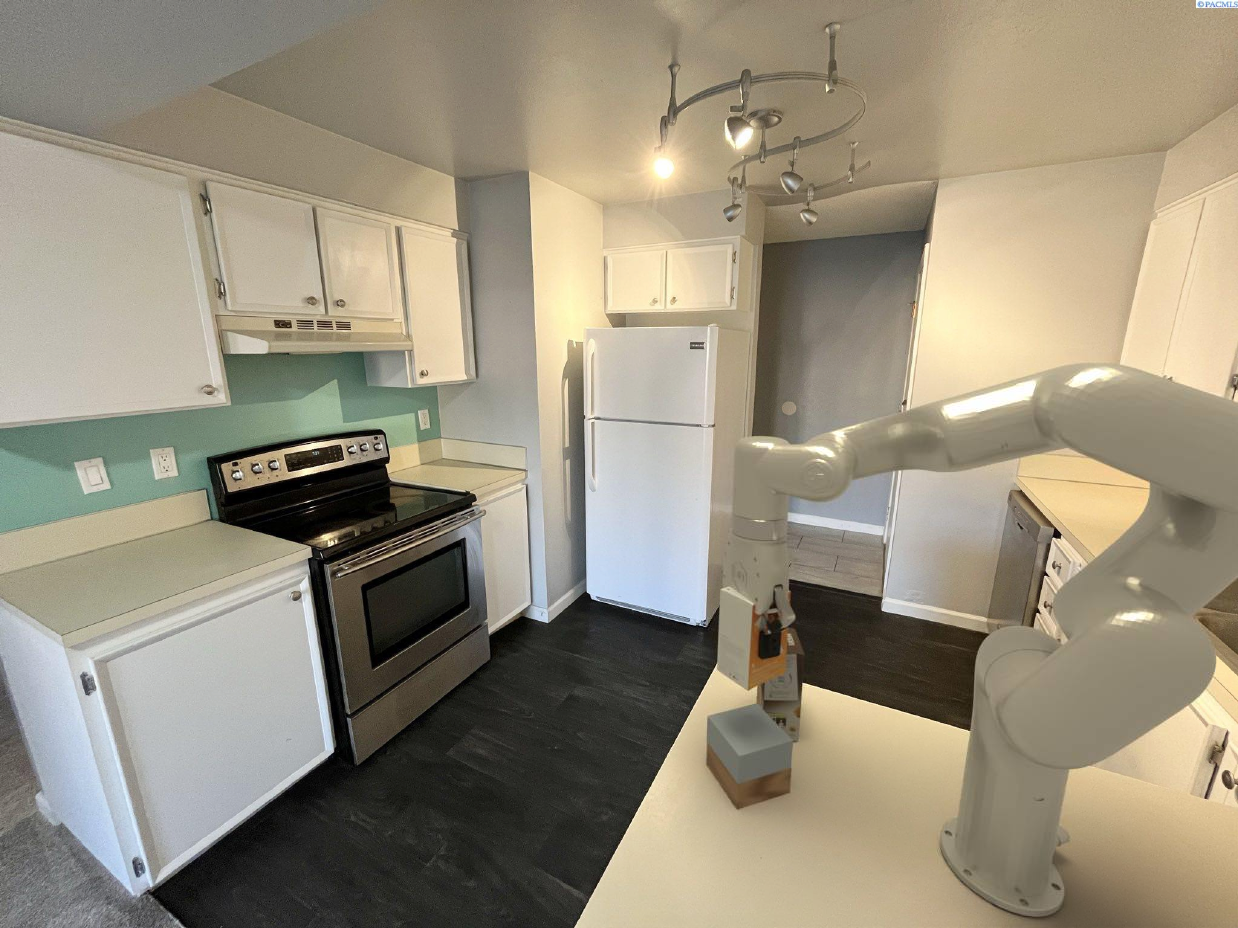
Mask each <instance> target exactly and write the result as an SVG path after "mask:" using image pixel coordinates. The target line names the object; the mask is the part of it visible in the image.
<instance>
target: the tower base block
mask: <svg viewBox="0 0 1238 928" xmlns="http://www.w3.org/2000/svg"><path fill="white" fill-rule="evenodd" d="M705 764H706V767H707V768H708V769H709V771H710V772H711V774H712V775H713V777H714V778H715V780H716V781H717V784H719V785H720V787H721V788H722V790H723V791H724V793H725V795H726V796H727V797H728V799H729V800H730V803H732V805H733V806H734V808H735V810H737V811H738V810H741V809H744V808H748V807H751V806H753V805H756V804H759V803H762V802H766V801H769V800H772V799H775V798H778V797H782V796H784V795H787V794H790V792H791V781H792V780H791V779H792V767H791V768H788V769H785V770H782V771H779V772H775V773H772V774H769V775H766V776H762V777H759V778H756V779H753V780H750V781H746V782H743V783H740V784H738V783H737V782H736V781H735V779H734V778H733V777H732V775H731V774H730V772H729V771H728V770H727V768H726V767H725V766H724V764H723V763H722V762H721V760H720V759H719V757H718V756H717V755H716V753H715V752H714V751H713V749H712V748H711V747H710V745H709V744H708V742H707V741H706V763H705Z"/></svg>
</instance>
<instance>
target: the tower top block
mask: <svg viewBox="0 0 1238 928" xmlns="http://www.w3.org/2000/svg"><path fill="white" fill-rule="evenodd" d="M706 723H707V724H706V743H707V742H708V744H709V745H710V747H711V748H712V749H713V751H714V752H715V753H716V755H717V756H718V757H719V759H720V760H721V762H722V763H723V764H724V766H725V767H726V768H727V770H728V771H729V772H730V774H731V775H732V777H733V778H734V779H735V781H736V782H737V783H738V784H740V783H743V782H746V781H750V780H753V779H756V778H759V777H762V776H766V775H769V774H772V773H775V772H779V771H782V770H785V769H788V768H791V769H792V762H793V761H792V758H793V757H792V756H793V746H794V745H793V744H794V743H793V742H794V741H793V740H792V739H791V738H790V737H789V736H788V735H787V734H786V733H785V732H784V731H783V730H782V729H781V728H780V727H779V726H778V725H777V724H776V723H775V722H774V721H773V719H772V718H771V717H770V716H769V715H768V714H767V713H766V712H765V711H764V710H763V709H762V708H761V707H760V706H759V705H758V704H757V702H756V703H752V704H747V705H745V706H741V707H736V708H733V709H729V710H724V711H721V712H717V713H716V712H715V713H713V714H709V715H707V720H706Z"/></svg>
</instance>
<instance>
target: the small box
mask: <svg viewBox="0 0 1238 928" xmlns="http://www.w3.org/2000/svg"><path fill="white" fill-rule="evenodd" d="M719 591H720V592H719V611H718V612H719V615H718V638H717V639H718V640H717V657H716V658H717V663H716V664H717V665H716V670H717V671H718V672H719V673H720V674H722V675H723V676H725V677H726V678H728V679H729V680H731V681H732V682H734V683H735V684H737V685H739V686H740V687H741V688H743V689H744V690H746V691H748V692H749V691H751V690H752V689H754V688H756V687H757V686H758V685H760V684H762V683H764V682H766V681H768V680H770V679H773V678H775V677H777V676H779V675H782V674H784V673H785V666H786V652H787V638H788V628H789V627H787V628H786V629H785V631H783V632H782V633H781V648H780V655H779V656H777V657H772V658H768V659H763V660H762V659H760V658H759V656H758V652H759V635H760V631H763V628H762V624H761V615H756V614H755V613H754V607H755V605H754V604H753V603H752V602H750V601H749V600H748V599H746V598H745V597H744V596H742V595H741V594H740V593H738V592H737V591H736V590H734V589H733V588H731V587H726V588H723V587H722V588H720V590H719ZM791 594H792V591H790V590H789V591H788V602H789V604H790V605H791ZM771 608H774V603H771V605H770V607H769V609H771ZM767 615H768V619H769V623H771V622H772V621H774V620H775V619H774V614H773V613H771V614H767Z"/></svg>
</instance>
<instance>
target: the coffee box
mask: <svg viewBox="0 0 1238 928" xmlns="http://www.w3.org/2000/svg"><path fill="white" fill-rule="evenodd" d="M805 656H806V655H805V652H804V649H803V646H802V644H801V641H800V638H799V636H798V632H797V630H796V628H794V627H788V638H787V652H786V666H785V673H784V674H782V675H779V676H777V677H775V678H773V679H770V680H768V681H766V682H764V683H762V684H760V685H758V686H756V687H757V688H756V703H757V704H758V705H759V706H760V707H761V708H762V709H763V710H764V711H765V712H766V713H767V714H768V715H769V716H770V717H771V718H772V719H773V721H774V722H775V723H776V724H777V725H778V726H779V727H780V728H781V729H782V730H783V731H784V732H785V733H786V734H787V735H788V736H789V737H790V738H791V739H792V740H793V742H798V741H799V737H800V736H799V735H800V727H801V726H800V724H801V710H802V699H803V698H802V697H803V696H802V695H803V684H804V669H805Z"/></svg>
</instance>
